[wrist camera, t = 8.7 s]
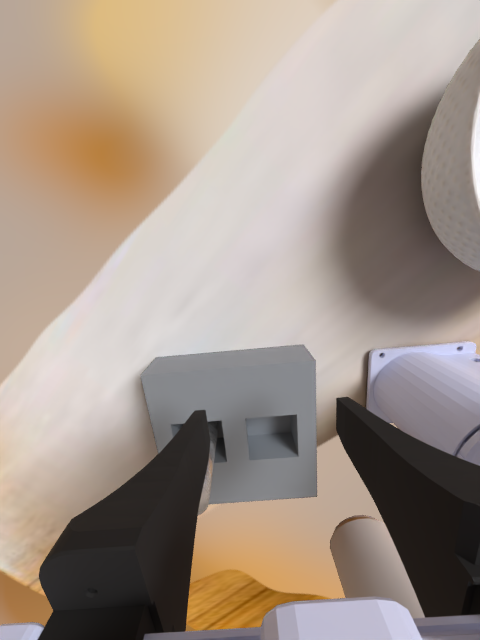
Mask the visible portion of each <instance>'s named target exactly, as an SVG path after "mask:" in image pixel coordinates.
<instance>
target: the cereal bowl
mask: <svg viewBox="0 0 480 640" xmlns="http://www.w3.org/2000/svg"><path fill="white" fill-rule="evenodd" d="M422 157H423V160H422V170H421V175H422V178H421V183H422V185H421V188H422V196H423V202H424V205H425V209H426V214H427V216H428V219H429V222H430V223H431V227H432V228H433V230H434V233H435V234H436V235H437V236H438V238H439V239H440V242H441V243H442V244H443V245H444V246H445V247H446V248H447V249H448V250H449V251H450V252H451V253H452V254H453V255H454V256H455V257H456V258H458V259H460V261H461V262H463V263H464V264H466V265H468V266H470V267H471V268H472V269H475V270H478V271H480V39H479V40H478V42H477V43H476V44H475V46H474V47H473V48H472V49H471V50H470V52H469V53H468V55H467V56H466V58H465V59H464V61H463V62H462V64H461V65H460V66H459V68H458V69H457V71H456V73H455V74H454V76H453V78H452V80H451V81H450V83H449V84H448V86H447V88H446V90H445V93H444V95H443V97H442V99H441V101H440V103H439V105H438V107H437V110H436V113H435V115H434V117H433V119H432V123H431V127H430V129H429V131H428V135H427V140H426V142H425V146H424V154H423V156H422Z"/></svg>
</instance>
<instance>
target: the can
mask: <svg viewBox="0 0 480 640" xmlns="http://www.w3.org/2000/svg"><path fill="white" fill-rule="evenodd" d="M330 549H331V552H332V556H333V559H334V562H335V565H336V568H337V572H338V575H339V578H340V581H341V584H342V587H343V591H344V594H345V597H346V598H356V597H373V596H375V597H384V598H391V599H393V600H394V601H396V602H398V603H399V604H401V605H402V606H404V607H405V608H407V609H408V610H409V613H410V615H411V617H412V618H425V616H424V614H423V611H422V609H421V606H420V604H419V601H418V599H417V596H416V594H415V591H414V589H413V587H412V584H411V582H410V580H409V577H408V575H407V572H406V570H405V568H404V565H403V563H402V561H401V558H400V556H399V554H398V552H397V549H396V547H395V545H394V543H393V540H392V538H391V536H390V534H389V532H388V529H387V527H386V525H385V523H383V522H381V521H379V520H377V519H375V518H372V517H370V516H364V515H359V516H353V517H349V518H347V519H345V520H343V521H342V522H341V523H339V525H338V526H337V527H336V529H335V531H334V533H333V535H332V538H331V540H330Z"/></svg>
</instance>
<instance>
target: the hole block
mask: <svg viewBox="0 0 480 640" xmlns="http://www.w3.org/2000/svg"><path fill="white" fill-rule="evenodd" d="M140 376H141V380H142V385H143V389H144V394H145V398H146V402H147V407H148V411H149V415H150V420H151V424H152V428H153V433H154V437H155V442H156V446H157V450H158V454H159V453H160V452H161V451H162V450H163V448H164V447H165V446H166V445H167V444H168V443H169V442H170V441H171V440H172V438H173V437H174V436H175V435H176V433H177V432H178V431H179V430H180V429H181V427H182V426H183V425H184V423H185V422H186V421H187V420H188V418H189V417H190V416H191V414H192V413H193V412H194V411H195V410H206V416H207V422H209V421H219V427H218V435H217V443H216V451H215V458H214V466H213V474H212V482H211V490H210V498H209V504H220V503H234V502H249V501H263V500H276V499H289V498H290V499H291V498H305V497H317V454H316V453H317V446H316V360H315V359H314V358H313V356H312V355H311V354H310V352H309V351H308V350H307V348H306V347H305V346H304V345H293V346H281V347H270V348H258V349H247V350H236V351H224V352H213V353H201V354H190V355H179V356H167V357H156V358H155V359H154V360H153V362H152V363H151V364H150V365H149V366H148V367H147V369H146V370H145V371H144V372H143V373H142V374H141V375H140Z"/></svg>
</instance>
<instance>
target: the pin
mask: <svg viewBox="0 0 480 640" xmlns="http://www.w3.org/2000/svg"><path fill="white" fill-rule="evenodd" d="M218 427H219V421H209V422H208V428H209V434H210V440H211V441H210V452H209V461H208V466H207V471H206V475H205V480H204V485H203V490H202V494H201V499H200V504H199V509H198V515H200V514H202V513H203V512H204V511H205V510H206V509H207V507H208V504H209V498H210V490H211V482H212V474H213V466H214V458H215V451H216V443H217V435H218ZM198 515H197V516H198Z"/></svg>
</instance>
